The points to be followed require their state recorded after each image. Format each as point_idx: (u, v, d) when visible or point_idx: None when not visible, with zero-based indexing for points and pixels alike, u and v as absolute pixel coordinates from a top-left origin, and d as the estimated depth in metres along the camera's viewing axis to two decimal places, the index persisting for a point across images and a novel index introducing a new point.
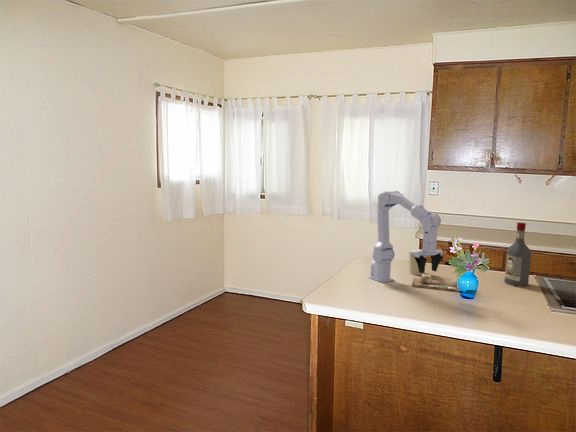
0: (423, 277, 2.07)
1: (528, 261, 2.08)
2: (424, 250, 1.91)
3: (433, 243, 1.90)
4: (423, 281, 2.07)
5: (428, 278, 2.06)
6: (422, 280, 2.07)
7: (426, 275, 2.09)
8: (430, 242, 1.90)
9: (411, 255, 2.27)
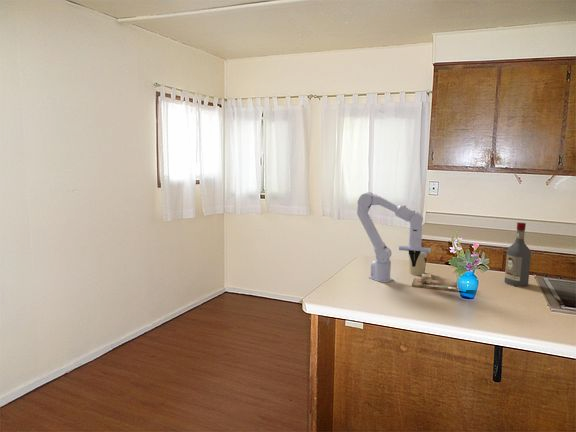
0: (423, 277, 2.07)
1: (528, 261, 2.08)
2: None
3: (413, 239, 2.06)
4: (423, 281, 2.07)
5: (428, 278, 2.06)
6: (422, 280, 2.07)
7: (426, 275, 2.09)
8: (411, 238, 2.07)
9: None
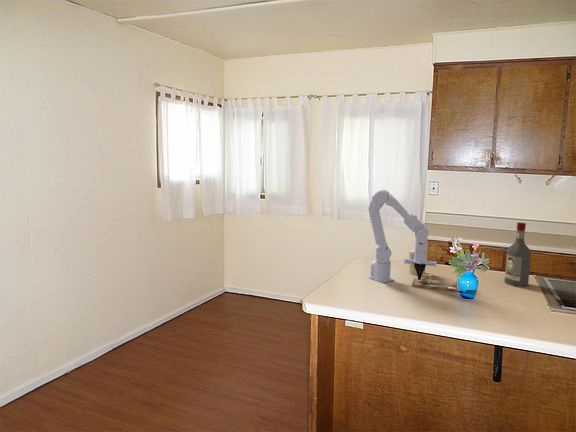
0: (423, 277, 2.07)
1: (528, 261, 2.08)
2: (414, 258, 2.10)
3: (419, 253, 2.06)
4: (423, 281, 2.07)
5: (428, 278, 2.06)
6: (422, 280, 2.07)
7: (426, 275, 2.09)
8: (416, 251, 2.07)
9: (411, 255, 2.27)
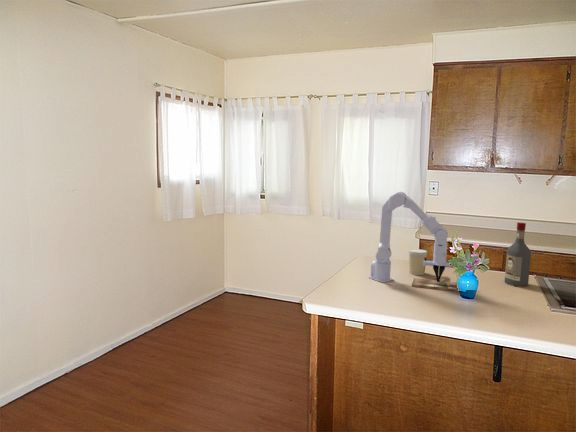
0: (443, 279, 2.04)
1: (528, 261, 2.08)
2: (433, 260, 2.07)
3: (438, 254, 2.03)
4: (443, 283, 2.04)
5: (448, 280, 2.03)
6: (442, 282, 2.04)
7: (445, 277, 2.06)
8: (435, 253, 2.04)
9: (411, 255, 2.27)
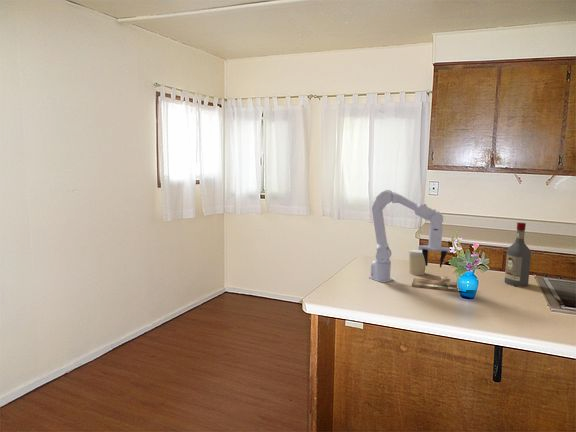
0: (443, 279, 2.04)
1: (528, 261, 2.08)
2: None
3: (433, 239, 2.03)
4: (443, 283, 2.04)
5: (448, 280, 2.03)
6: (442, 282, 2.04)
7: (445, 277, 2.06)
8: (431, 237, 2.04)
9: (411, 255, 2.27)
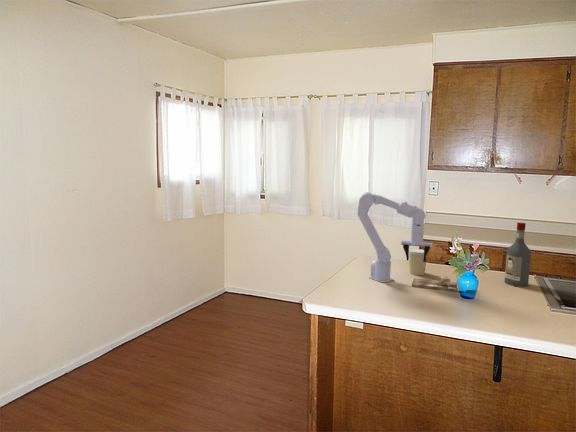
0: (443, 279, 2.04)
1: (528, 261, 2.08)
2: None
3: (415, 234, 2.09)
4: (443, 283, 2.04)
5: (448, 280, 2.03)
6: (442, 282, 2.04)
7: (445, 277, 2.06)
8: (413, 233, 2.10)
9: (411, 255, 2.27)
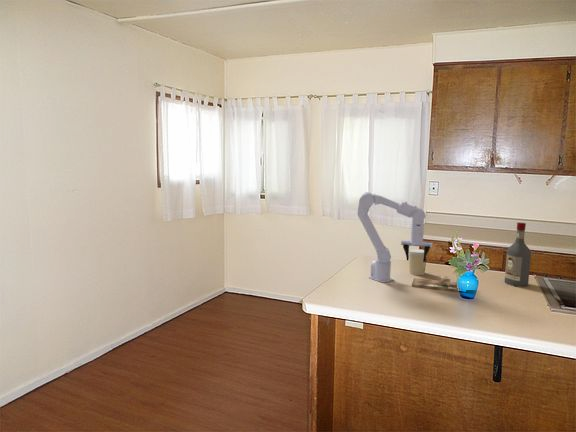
0: (443, 279, 2.04)
1: (528, 261, 2.08)
2: None
3: (415, 234, 2.09)
4: (443, 283, 2.04)
5: (448, 280, 2.03)
6: (442, 282, 2.04)
7: (445, 277, 2.06)
8: (413, 233, 2.10)
9: (411, 255, 2.27)
